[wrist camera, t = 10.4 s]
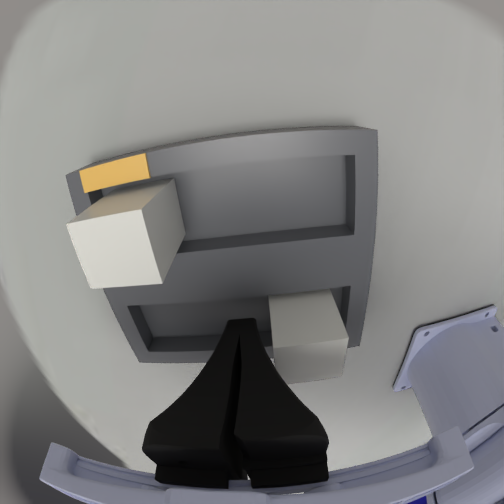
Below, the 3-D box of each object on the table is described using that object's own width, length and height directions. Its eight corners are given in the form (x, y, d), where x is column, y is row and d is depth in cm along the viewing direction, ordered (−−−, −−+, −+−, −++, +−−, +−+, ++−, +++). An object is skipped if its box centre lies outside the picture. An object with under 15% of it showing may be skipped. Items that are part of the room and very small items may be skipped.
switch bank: (355, 126, 11) (378, 130, 9) (348, 319, 17) (359, 347, 14) (91, 163, 12) (64, 175, 10) (148, 335, 17) (138, 363, 15)
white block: (327, 281, 14) (348, 337, 10) (325, 320, 15) (341, 376, 11) (267, 288, 14) (273, 348, 10) (271, 326, 15) (276, 385, 12)
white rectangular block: (173, 177, 11) (141, 209, 8) (185, 233, 12) (162, 283, 9) (113, 190, 11) (66, 223, 8) (127, 241, 13) (91, 288, 9)
